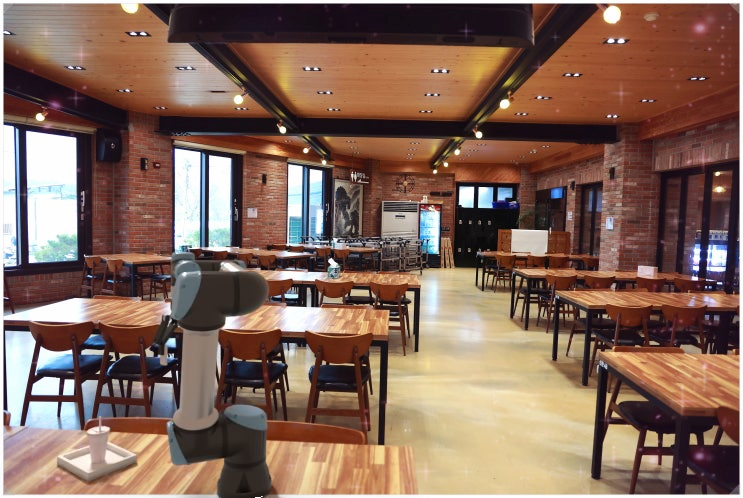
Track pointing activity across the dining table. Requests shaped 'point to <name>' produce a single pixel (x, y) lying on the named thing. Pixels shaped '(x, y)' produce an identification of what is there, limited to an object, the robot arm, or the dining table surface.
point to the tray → (87, 470)
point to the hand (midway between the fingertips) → (181, 360)
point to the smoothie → (98, 442)
